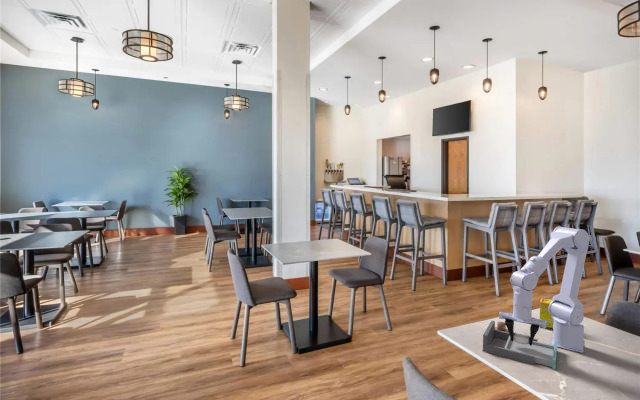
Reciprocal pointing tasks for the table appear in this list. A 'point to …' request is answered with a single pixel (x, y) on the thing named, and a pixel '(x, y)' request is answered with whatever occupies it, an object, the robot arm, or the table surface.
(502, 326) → the disc stand
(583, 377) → the table surface
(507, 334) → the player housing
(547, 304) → the supplement box
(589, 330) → the table surface
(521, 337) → the white round dome
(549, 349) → the tray
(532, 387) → the table surface
